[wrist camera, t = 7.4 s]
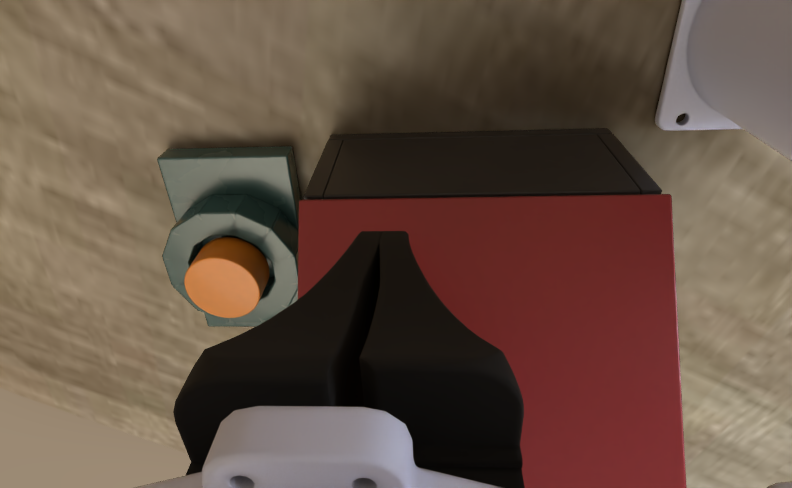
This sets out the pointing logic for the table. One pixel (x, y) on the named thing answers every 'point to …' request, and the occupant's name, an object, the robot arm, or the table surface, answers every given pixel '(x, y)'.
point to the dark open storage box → (477, 165)
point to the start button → (227, 277)
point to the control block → (235, 216)
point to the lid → (550, 316)
